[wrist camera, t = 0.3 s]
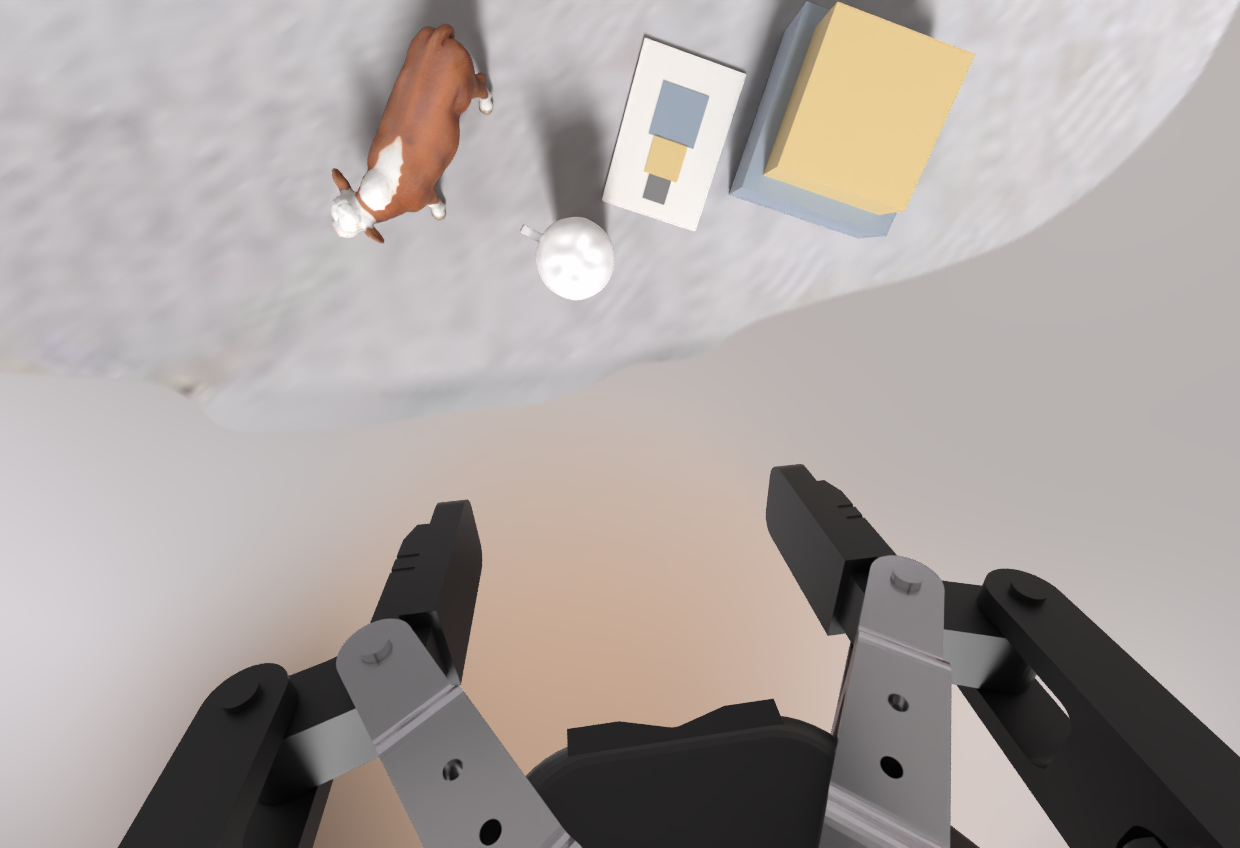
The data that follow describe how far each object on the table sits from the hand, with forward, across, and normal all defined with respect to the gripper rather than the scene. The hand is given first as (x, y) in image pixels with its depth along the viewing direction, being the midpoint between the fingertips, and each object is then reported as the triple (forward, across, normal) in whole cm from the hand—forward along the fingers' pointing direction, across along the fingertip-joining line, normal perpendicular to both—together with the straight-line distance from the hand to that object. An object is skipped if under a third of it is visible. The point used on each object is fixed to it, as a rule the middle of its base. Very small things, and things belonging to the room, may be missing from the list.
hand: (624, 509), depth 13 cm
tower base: (+27, -17, -8) cm, 33 cm away
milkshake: (+28, 0, -2) cm, 28 cm away
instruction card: (+28, -7, -9) cm, 30 cm away
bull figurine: (+30, +9, -8) cm, 32 cm away
